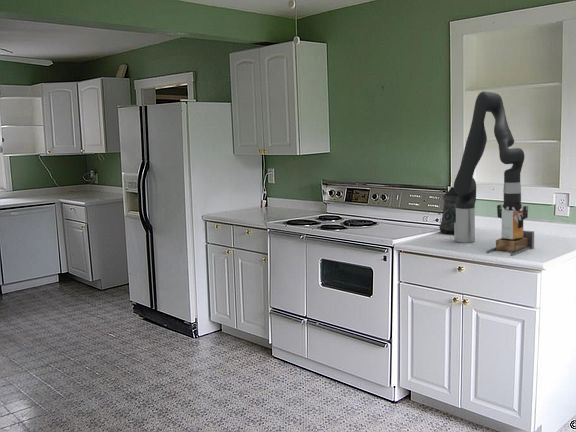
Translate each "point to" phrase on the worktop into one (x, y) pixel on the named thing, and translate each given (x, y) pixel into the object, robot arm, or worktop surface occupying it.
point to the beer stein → (449, 212)
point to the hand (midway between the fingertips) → (512, 227)
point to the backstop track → (530, 246)
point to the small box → (511, 225)
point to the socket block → (511, 244)
